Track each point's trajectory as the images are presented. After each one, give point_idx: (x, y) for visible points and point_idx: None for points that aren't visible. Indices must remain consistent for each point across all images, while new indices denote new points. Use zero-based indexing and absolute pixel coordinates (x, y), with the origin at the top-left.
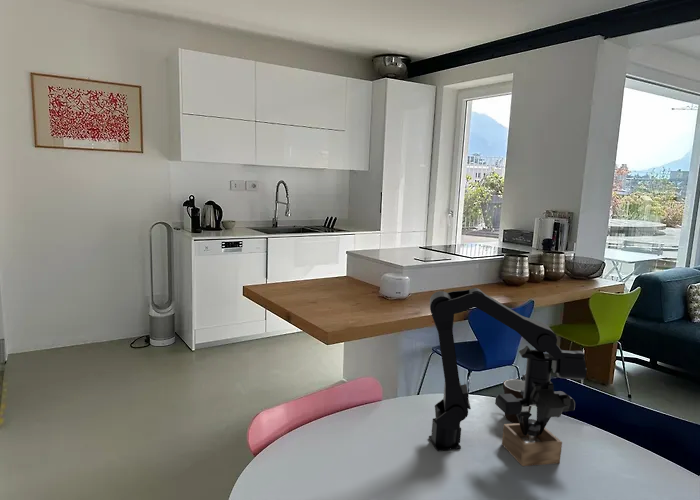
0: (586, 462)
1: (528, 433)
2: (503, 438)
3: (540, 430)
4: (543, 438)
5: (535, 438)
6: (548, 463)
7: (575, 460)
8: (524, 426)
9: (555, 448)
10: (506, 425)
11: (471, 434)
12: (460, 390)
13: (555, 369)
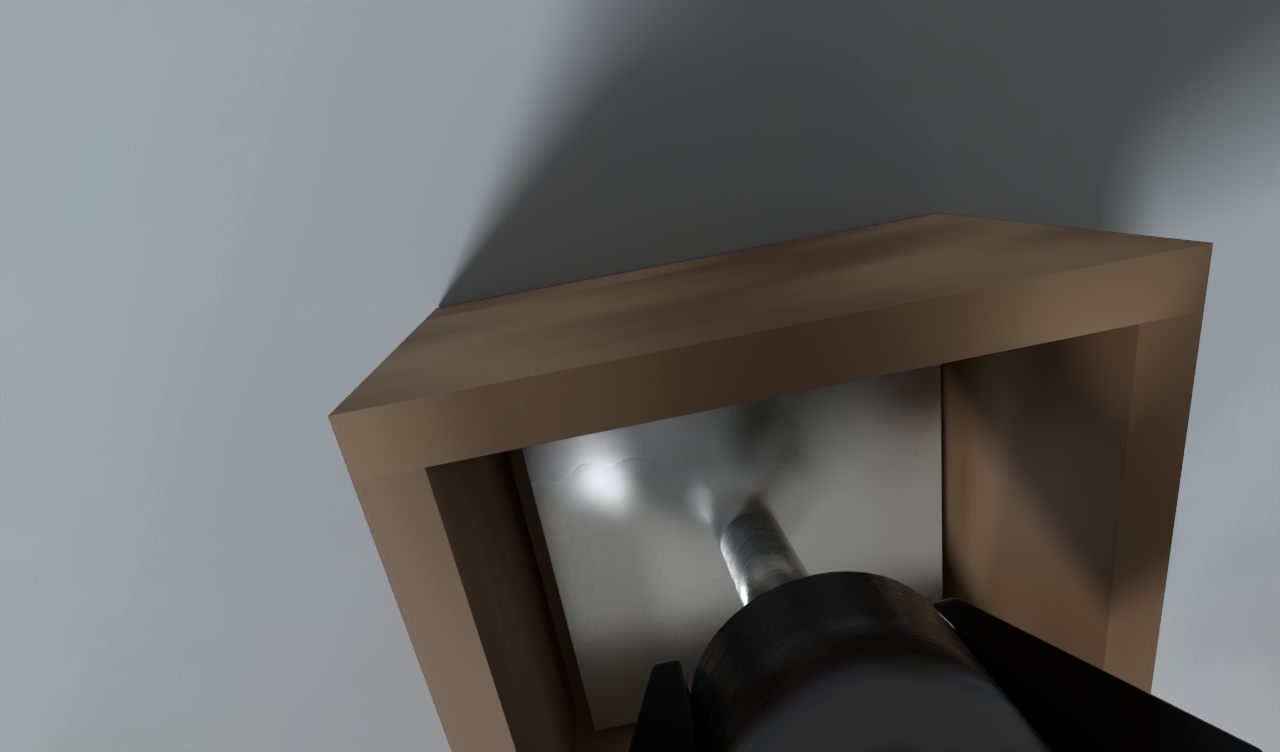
0: (49, 350)
1: (944, 621)
2: None
3: (694, 723)
4: (540, 672)
5: (619, 689)
6: (593, 281)
7: (197, 385)
8: (1203, 724)
9: (496, 347)
10: None
11: None
12: None
13: None
